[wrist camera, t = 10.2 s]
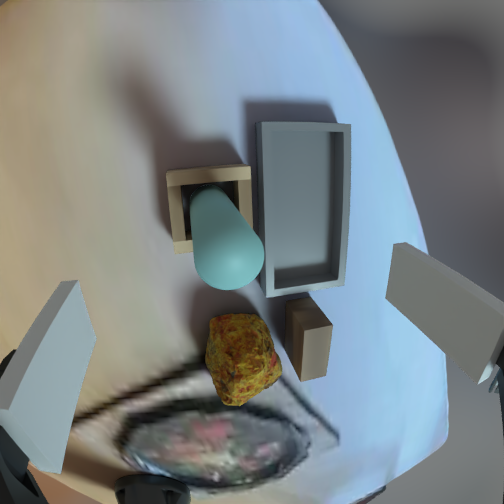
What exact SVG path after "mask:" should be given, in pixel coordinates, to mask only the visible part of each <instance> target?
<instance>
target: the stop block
mask: <svg viewBox="0 0 504 504" xmlns="http://www.w3.org/2000/svg"><path fill="white" fill-rule="evenodd" d="M332 328H333V325H332V323H331V322H330V321H329V319H328V318H327V317H326V316H325V314H324V313H323V312H322V310H321V309H320V308H319V307H318V305H317V304H316V303H315V302H314V300H313V299H312V298H311V297H306V298H300V299H294V300H288V301H286V310H285V351H286V353H287V355H288V357H289V359H290V361H291V364H292V366H293V368H294V370H295V372H296V374H297V376H298V378H299V380H300V382H302V381H307V380H311V379H315V378H319V377H323V376H326V372H327V366H328V359H329V352H330V344H331V336H332Z"/></svg>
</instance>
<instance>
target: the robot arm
mask: <svg viewBox="0 0 504 504" xmlns="http://www.w3.org/2000/svg"><path fill="white" fill-rule="evenodd" d="M385 298H386V299H387V300H388V301H389V302H390V303H391V304H392V305H393V306H394V307H396V308H397V309H398V310H399V311H400V312H401V313H402V314H403V315H404V316H406V317H407V318H408V319H409V320H410V321H411V322H412V323H413V324H414V325H415V326H416V327H418V328H419V329H420V330H421V331H422V332H423V333H424V334H425V335H426V336H427V337H428V338H429V339H430V340H432V341H433V342H434V343H435V344H436V345H437V346H438V347H439V348H440V349H441V350H442V351H443V352H444V353H445V354H446V355H447V356H448V357H449V358H450V359H451V360H452V361H454V362H455V363H456V364H457V365H458V366H459V367H460V368H461V369H462V370H463V371H464V372H465V373H466V374H467V375H468V376H469V377H470V378H471V379H472V380H473V381H474V382H475V383H476V384H479V383H481V382H482V381H484V380H485V379H487V378H488V377H489V376H490V374H491V372H492V370H493V368H494V366H495V364H497V365H498V366H499V367H500V369H499V371H498V373H497V375H496V376H495V378H494V380H493V382H492V384H491V386H490V388H489V392H492V390H493V388H494V386H495V385H498V386H497V388H496V390H495V393H499V394H500V403H501V411H502V422H503V436H504V303H503V302H502V301H500V300H499V299H497V298H496V297H494V296H493V295H491V294H490V293H488V292H487V291H485V290H483V289H482V288H481V287H479V286H478V285H476V284H475V283H473V282H471V281H470V280H468V279H467V278H465V277H464V276H462V275H460V274H459V273H457V272H456V271H454V270H452V269H451V268H449V267H447V266H446V265H444V264H443V263H441V262H439V261H437V260H436V259H434V258H432V257H431V256H429V255H427V254H426V253H424V252H422V251H421V250H419V249H417V248H415V247H414V246H412V245H410V244H408V243H407V242H405V243H397V244H393V252H392V259H391V266H390V273H389V279H388V285H387V291H386V297H385ZM95 342H96V336H95V333H94V330H93V327H92V324H91V321H90V318H89V315H88V312H87V309H86V305H85V302H84V299H83V295H82V292H81V288H80V285H79V281H78V280H72V281H62V282H61V283H60V284H59V286H58V287H57V289H56V290H55V291H54V293H53V294H52V296H51V297H50V299H49V300H48V302H47V303H46V304H45V306H44V307H43V309H42V310H41V312H40V313H39V315H38V316H37V318H36V319H35V321H34V323H33V324H32V326H31V327H30V329H29V330H28V332H27V334H26V335H25V337H24V338H23V340H22V342H21V343H20V345H19V347H18V348H17V350H13V351H11V352H10V353H9V354H8V355H7V356H6V357H5V358H4V359H3V361H2V362H1V364H0V504H49V503H48V502H47V500H46V498H45V497H44V495H43V493H42V491H41V490H40V488H39V486H38V485H37V483H36V481H35V479H34V477H33V475H32V474H31V473H30V471H29V470H28V469H27V466H28V462H29V460H30V461H31V462H32V463H33V464H34V465H35V466H36V467H37V468H38V469H39V470H41V471H46V472H52V473H59V474H61V471H62V465H63V460H64V455H65V450H66V446H67V441H68V437H69V432H70V428H71V424H72V420H73V416H74V412H75V408H76V404H77V401H78V397H79V393H80V390H81V386H82V383H83V380H84V376H85V373H86V370H87V366H88V363H89V360H90V357H91V354H92V351H93V348H94V345H95ZM115 496H116V499H117V502H118V504H190V502H191V497H190V490H189V488H188V487H187V486H186V485H184V484H183V483H181V482H179V481H176V480H173V479H170V478H165V477H160V476H152V475H132V476H126V477H123V478H120V479H118V480H117V481H116V483H115ZM503 504H504V494H503Z"/></svg>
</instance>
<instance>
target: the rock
mask: <svg viewBox="0 0 504 504" xmlns="http://www.w3.org/2000/svg"><path fill="white" fill-rule="evenodd" d="M209 326H210V334H209V336H208V340H207V348H206V355H205V363H206V365H207V368H208V369H209V371H210V374H211V376H212V379H213V384H214V385H215V388H216V390H217V394H218V396H219V397H220V398H222V401H223V403H224V404H225V405H239V406H240V405H242V404H244V403H246V402H247V401H248V399H250V398H252V397H254V396H255V395H256V394H258V393H260V392H261V391H262V390H264V389H267V388H269V387H270V386H272V385H273V384H274V383H275V382H276V381H277V380H278V378H279V377H280V376H281V374H282V365H281V360H280V358H279V356H278V354H277V353H276V352H275V349H274V343H273V340H272V338H271V335H270V331H269V329H268V327H267V325H266V324H265V323H264V321H263V319H261V318H260V317H258V316H257V315H255V314H251V315H250V314H249V313H248V314H242V313H240V314H235V315H234V314H233V313H231V314H227V315H226V314H225V315H221V316H217V317H214V318H212V319H211V320H210V324H209Z"/></svg>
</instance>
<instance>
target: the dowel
mask: <svg viewBox="0 0 504 504" xmlns="http://www.w3.org/2000/svg"><path fill="white" fill-rule="evenodd" d="M189 206H190V219H191V231H192V242H193V253H194V263H195V267H196V270H197V272H198V274H199V276H200V277H201V278H202V280H203V281H205V282H206V283H207V284H208V285H210V286H212V287H214V288H217V289H222V290H233V289H238V288H241V287H243V286H245V285H247V284H249V283H250V282H251V281H252V280H253V279H255V277H256V276H257V275H258V274H259V272H260V270H261V268H262V266H263V262H264V248H263V245H262V242H261V240H260V239H259V237H258V236H257V234H256V233H255V232H254V231H253V229H252V228H251V227H250V225H249V224H248V223H247V221H246V220H245V219H244V217H243V216H242V215H241V213H240V212H239V211H238V210H237V208H236V207H235V206H234V204H233V203H232V202H231V200H230V199H229V198H228V196H227V195H226V194H225V193H224V191H223V190H222V189H221V188H219V187H217V186H215V185H203V186H201V187H199V188H197V189H196V190H195V191H194V192H193V193H192V195H191V198H190V202H189Z"/></svg>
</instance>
